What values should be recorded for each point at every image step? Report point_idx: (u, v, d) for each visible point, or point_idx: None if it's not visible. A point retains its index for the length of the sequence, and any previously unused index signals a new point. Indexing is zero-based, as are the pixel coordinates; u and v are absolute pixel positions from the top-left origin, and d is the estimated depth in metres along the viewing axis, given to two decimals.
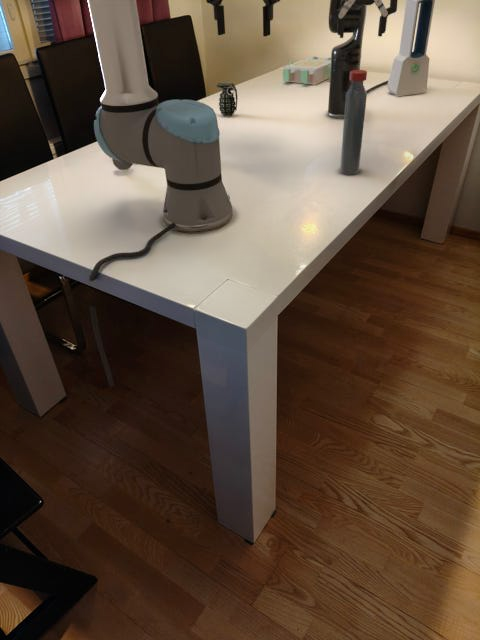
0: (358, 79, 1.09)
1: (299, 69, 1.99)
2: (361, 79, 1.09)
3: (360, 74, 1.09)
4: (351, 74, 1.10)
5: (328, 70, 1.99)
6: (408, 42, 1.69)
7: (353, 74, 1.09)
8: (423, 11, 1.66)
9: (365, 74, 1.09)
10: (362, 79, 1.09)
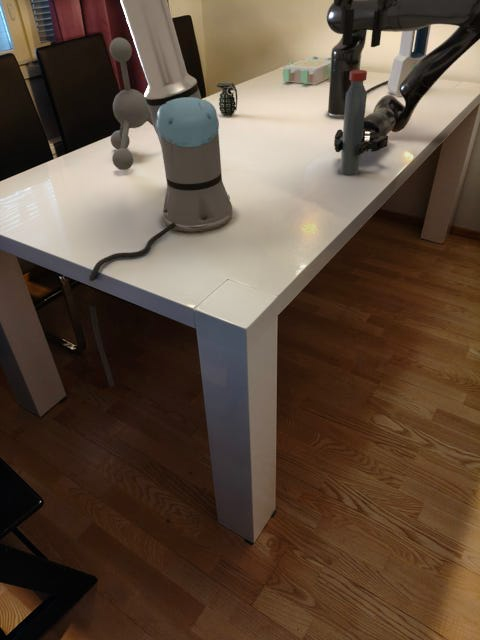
0: (358, 79, 1.09)
1: (299, 69, 1.99)
2: (361, 79, 1.09)
3: (360, 74, 1.09)
4: (351, 74, 1.10)
5: (328, 70, 1.99)
6: (408, 42, 1.69)
7: (353, 74, 1.09)
8: None
9: (365, 74, 1.09)
10: (362, 79, 1.09)
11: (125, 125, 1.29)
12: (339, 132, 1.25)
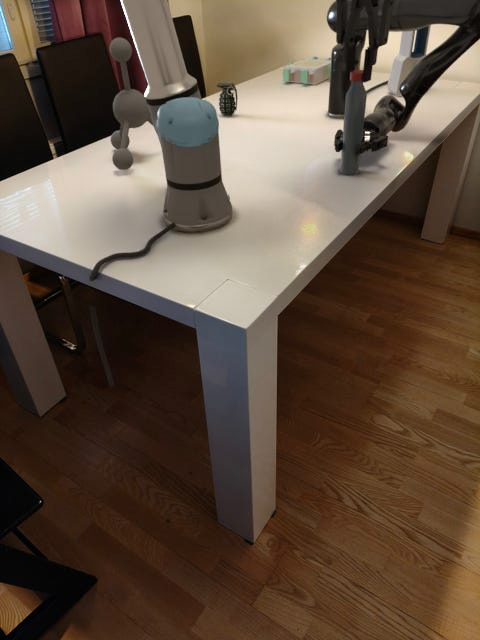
0: (358, 79, 1.09)
1: (299, 69, 1.99)
2: (361, 79, 1.09)
3: (360, 74, 1.09)
4: (351, 74, 1.10)
5: (328, 70, 1.99)
6: (408, 42, 1.69)
7: (353, 74, 1.09)
8: None
9: None
10: None
11: (125, 125, 1.29)
12: (339, 132, 1.25)
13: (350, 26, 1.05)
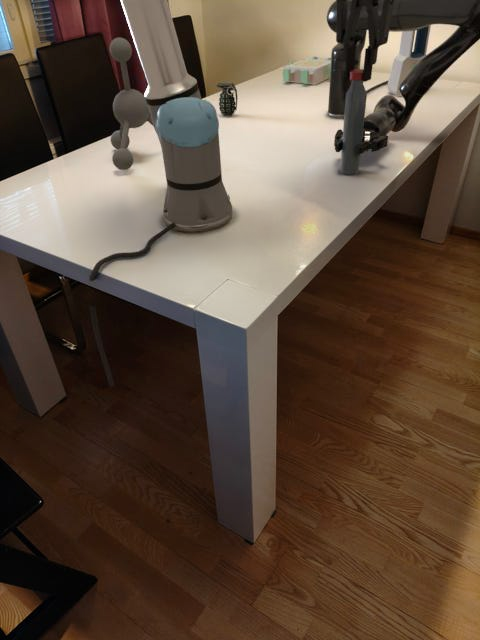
0: None
1: (299, 69, 1.99)
2: None
3: None
4: None
5: (328, 70, 1.99)
6: (408, 42, 1.69)
7: None
8: None
9: None
10: None
11: (125, 125, 1.29)
12: (339, 132, 1.25)
13: (350, 25, 1.05)
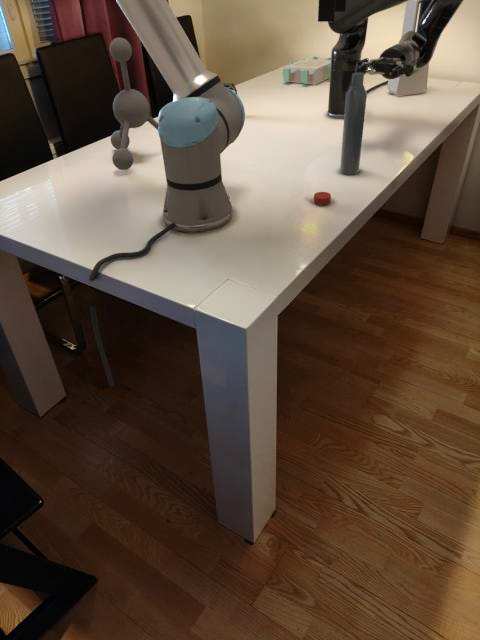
0: (327, 203, 1.09)
1: (299, 69, 1.99)
2: (329, 202, 1.10)
3: (328, 198, 1.09)
4: (319, 199, 1.09)
5: (328, 70, 1.99)
6: None
7: (321, 199, 1.09)
8: (423, 11, 1.66)
9: (330, 196, 1.10)
10: (329, 202, 1.10)
11: (125, 125, 1.29)
12: (364, 60, 1.27)
13: None
